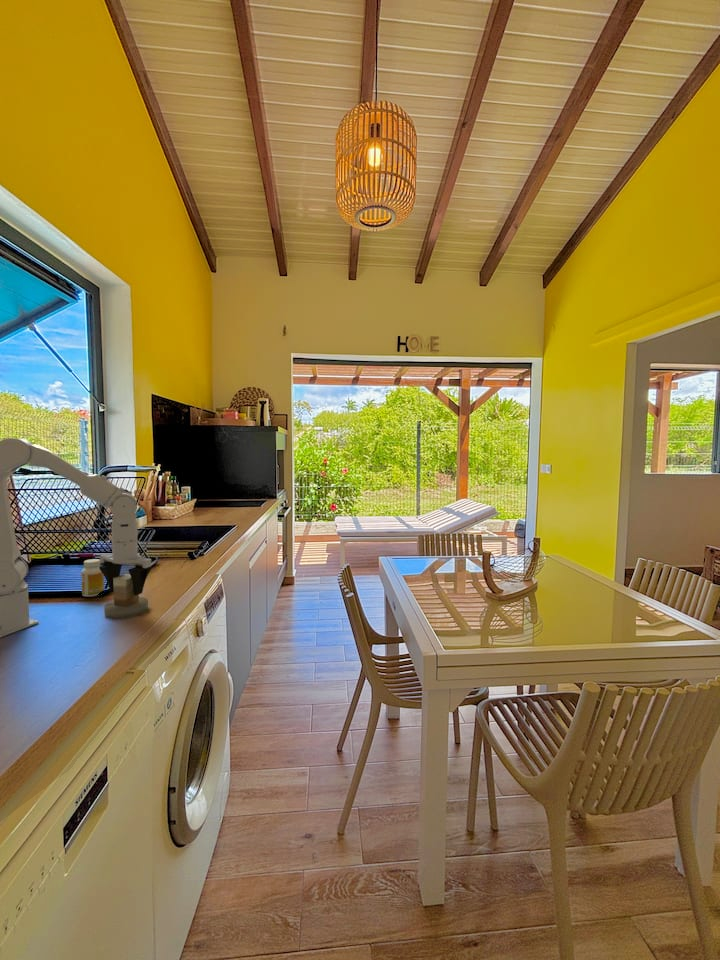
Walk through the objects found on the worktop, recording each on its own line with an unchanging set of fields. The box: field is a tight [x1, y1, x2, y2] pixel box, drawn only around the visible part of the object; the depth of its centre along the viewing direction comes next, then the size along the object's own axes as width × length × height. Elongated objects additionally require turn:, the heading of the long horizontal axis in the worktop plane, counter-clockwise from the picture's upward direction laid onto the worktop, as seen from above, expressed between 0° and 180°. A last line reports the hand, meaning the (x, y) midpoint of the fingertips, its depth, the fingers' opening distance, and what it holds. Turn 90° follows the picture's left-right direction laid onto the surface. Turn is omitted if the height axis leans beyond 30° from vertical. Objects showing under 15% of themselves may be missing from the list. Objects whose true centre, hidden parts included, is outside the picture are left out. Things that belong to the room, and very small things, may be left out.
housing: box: [113, 573, 140, 607], centre depth 115 cm, size 4×4×7 cm
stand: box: [103, 596, 149, 619], centre depth 115 cm, size 10×10×2 cm
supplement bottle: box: [80, 558, 105, 598], centre depth 127 cm, size 5×5×10 cm
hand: (126, 592), depth 115 cm, fingers open, 7 cm apart
